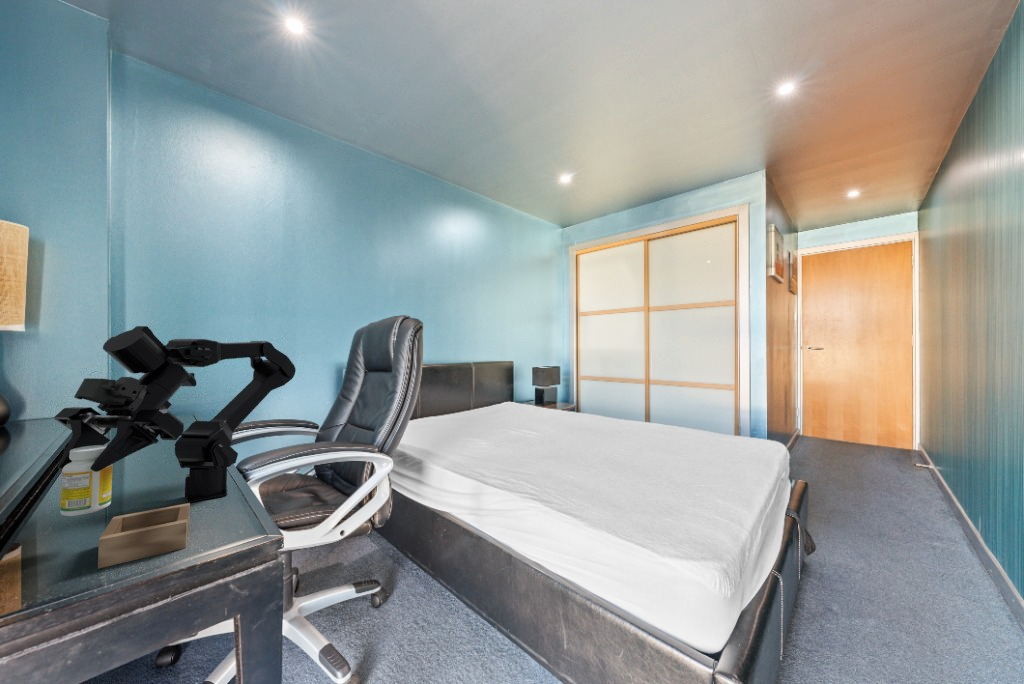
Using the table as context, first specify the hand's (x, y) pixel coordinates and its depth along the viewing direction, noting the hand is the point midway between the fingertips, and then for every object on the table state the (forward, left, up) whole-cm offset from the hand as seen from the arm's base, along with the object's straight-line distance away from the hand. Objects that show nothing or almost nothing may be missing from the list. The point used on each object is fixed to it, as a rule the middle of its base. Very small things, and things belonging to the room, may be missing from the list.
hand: (77, 469), depth 58 cm
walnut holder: (-9, +4, -12) cm, 16 cm away
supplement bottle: (-1, -1, -7) cm, 7 cm away
